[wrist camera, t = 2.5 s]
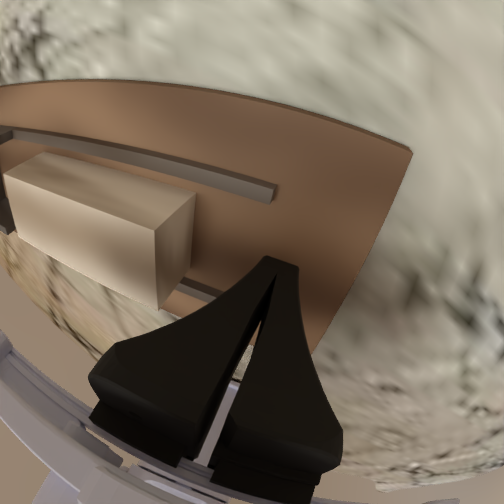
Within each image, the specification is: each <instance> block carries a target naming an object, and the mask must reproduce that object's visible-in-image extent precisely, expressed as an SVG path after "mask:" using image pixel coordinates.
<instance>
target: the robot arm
mask: <svg viewBox="0 0 504 504" xmlns="http://www.w3.org/2000/svg"><path fill="white" fill-rule="evenodd" d="M299 270H300V269H299V267H298V266H296V265H293V264H290V263H287V262H285V261H282V260H279V259H276V258H273V257H270V256H267V255H266V256H263V257H262V259H261V260H260V261H259V262H258V263H257V264H256V266H255V267H254V268H253V269H252V270H250V271H249V272H248V273H247V274H246V275H245V276H244V277H243V278H242V279H240V280H239V281H238V282H237V283H236V284H235V285H233V286H232V287H231V288H229V289H228V290H227V291H225V292H224V293H223V294H221V295H220V296H219V297H217V298H216V299H214V300H213V301H211V302H210V303H208V304H207V305H205V306H203V307H202V308H200V309H198V310H197V311H195V312H193V313H191V314H189V315H187V316H185V317H183V318H182V319H179V320H177V321H175V322H173V323H171V324H169V325H166V326H164V327H161V328H159V329H156V330H154V331H151V332H149V333H146V334H143V335H140V336H137V337H133V338H130V339H127V340H123V341H120V342H116V343H115V344H114V345H113V346H112V347H111V348H110V349H109V350H108V351H107V352H106V353H105V354H104V355H103V356H102V357H101V358H100V360H99V361H98V362H97V364H96V365H95V366H94V368H93V369H92V371H91V372H90V373H89V375H88V380H89V383H90V385H91V387H92V388H93V390H94V392H95V393H96V395H97V396H98V398H99V399H100V400H99V402H98V404H97V405H96V406H95V408H94V409H92V408H90V407H89V406H87V405H86V404H84V403H83V402H82V401H80V400H79V399H77V398H76V397H74V396H73V395H72V394H70V393H69V392H67V391H66V390H65V389H63V388H62V387H61V386H59V385H58V384H57V383H55V382H54V381H53V380H51V379H50V378H49V377H48V376H46V375H45V374H44V373H43V372H41V371H40V370H39V369H38V368H37V367H35V366H34V365H33V364H32V363H31V362H29V361H28V360H27V359H26V358H25V357H24V356H23V355H22V354H20V353H19V352H18V351H17V350H16V349H15V348H14V347H13V345H12V343H11V342H10V341H9V339H8V338H7V336H6V335H5V334H4V333H3V332H2V330H1V329H0V418H1V420H2V421H3V422H4V423H5V424H6V425H7V426H8V428H9V429H10V430H11V431H12V432H13V433H14V434H15V435H16V436H17V437H18V438H19V439H20V441H21V442H22V443H24V445H25V446H26V447H27V448H28V449H30V451H32V452H33V453H34V454H35V455H36V456H37V457H38V458H39V459H40V460H41V461H42V462H43V463H44V464H45V465H46V466H48V467H49V468H50V469H51V471H50V473H49V474H48V476H47V478H46V479H45V481H44V483H43V484H42V486H41V488H40V489H39V491H38V493H37V495H36V497H35V498H34V500H33V502H32V503H31V504H225V503H226V504H229V503H230V500H231V498H232V497H233V498H236V499H239V500H242V501H246V502H249V503H253V504H367V503H355V502H346V501H337V500H330V499H324V498H318V497H312V496H313V492H314V489H315V485H318V484H319V482H320V479H321V475H322V474H323V473H325V472H328V471H330V470H333V469H334V468H336V467H337V466H339V465H340V462H341V458H342V452H343V429H342V427H341V426H340V424H339V422H338V420H337V418H336V416H335V414H334V412H333V410H332V408H331V406H330V404H329V402H328V400H327V397H326V395H325V393H324V391H323V388H322V386H321V383H320V380H319V378H318V375H317V372H316V370H315V367H314V364H313V361H312V358H311V354H310V351H309V347H308V343H307V339H306V335H305V330H304V325H303V320H302V314H301V306H300V297H299ZM260 322H261V323H260ZM259 323H260V327H259V330H258V334H257V337H256V341H255V345H254V348H253V352H252V355H251V359H250V362H249V364H248V366H247V369H246V371H245V374H244V376H243V379H242V381H241V383H238V382H235V381H232V380H231V379H232V376H233V374H234V372H235V370H236V368H237V366H238V363H239V362H240V360H241V358H242V356H243V354H244V352H245V350H246V348H247V347H248V345H249V343H250V341H251V339H252V337H253V335H254V333H255V331H256V329H257V327H258V325H259ZM85 427H87V428H88V429H90V430H91V431H93V432H94V433H96V434H97V435H99V436H101V437H102V438H104V439H106V440H107V441H109V442H110V443H112V444H114V445H116V446H117V447H119V448H121V449H122V450H124V451H126V452H128V453H130V454H131V455H133V456H135V457H137V458H139V459H140V461H139V462H138V464H137V465H138V466H139V467H138V466H136V465H134V464H132V465H131V467H130V468H128V467H126V466H122V467H120V466H121V464H122V462H123V458H121V457H120V456H119V455H117V454H116V453H114V452H113V451H112V450H111V449H110V448H109V446H107V445H106V444H104V443H103V442H101V441H100V440H99V439H97V438H96V437H94V436H93V435H91V434H90V433H89V432H87V431H86V428H85ZM424 504H459V499H458V498H457V499H445V500H436V501H430V502H426V503H424Z"/></svg>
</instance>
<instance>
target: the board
mask: <svg viewBox="0 0 504 504" xmlns="http://www.w3.org/2000/svg"><path fill="white" fill-rule="evenodd" d="M43 152H47V153H52V154H56V155H60V156H64V157H68V158H72V159H76V160H80V161H84V162H88V163H92V164H96V165H100V166H104V167H107V168H111V169H115V170H119V171H122V172H126V173H130V174H133V175H137V176H141V177H144V178H148V179H151V180H155V181H158V182H162V183H165V184H169V185H172V186H176V187H179V188H182V189H186V190H189V191H193V192H196V200H195V211H194V222H193V234H192V248H191V262H190V269H189V270H188V272H187V273H186V274H185V276H184V277H183V278H182V280H181V281H180V282H179V284H178V285H177V286H176V288H175V289H174V290H173V292H172V293H171V294H170V296H169V297H168V299H167V300H166V301H165V303H164V304H163V305H162V307H161V309H163V310H166V311H168V312H170V313H172V314H175V315H177V316H179V317H182V318H183V317H185V316H187V315H189V314H191V313H193V312H195V311H197V310H198V309H200V308H202V307H203V306H205V305H207V304H208V303H210V302H211V301H213V300H214V299H216V298H217V297H219V296H220V295H221V294H223V293H224V292H225V291H227V290H228V289H229V288H231V287H232V286H233V285H235V284H236V283H237V282H238V281H239V280H240V279H242V278H243V277H244V276H245V275H246V274H247V273H248V272H249V271H250V270H252V269H253V268H254V267H255V266H256V264H257V263H258V262H259V261H260V260H261V259H262V257H263V256H266V255H267V256H270V257H273V258H276V259H279V260H282V261H285V262H287V263H290V264H293V265H296V266H298V267H299V269H300V270H299V297H300V306H301V314H302V320H303V325H304V330H305V335H306V339H307V343H308V347H309V351H310V354H312V352H313V351H314V349H315V348H316V346H317V344H318V343H319V341H320V340H321V338H322V336H323V335H324V333H325V331H326V330H327V328H328V326H329V325H330V323H331V321H332V320H333V318H334V316H335V314H336V313H337V311H338V309H339V307H340V306H341V304H342V302H343V300H344V299H345V297H346V295H347V293H348V291H349V290H350V288H351V286H352V284H353V282H354V280H355V279H356V277H357V275H358V273H359V271H360V269H361V267H362V265H363V263H364V261H365V259H366V258H367V256H368V254H369V252H370V250H371V248H372V246H373V244H374V241H375V239H376V237H377V235H378V233H379V231H380V229H381V227H382V225H383V223H384V221H385V218H386V216H387V214H388V212H389V210H390V207H391V205H392V203H393V201H394V198H395V196H396V194H397V191H398V189H399V187H400V184H401V182H402V180H403V177H404V175H405V172H406V170H407V167H408V165H409V162H410V160H411V157H412V155H413V153H412V151H411V150H410V149H409V147H406V146H404V145H402V144H399V143H397V142H395V141H392V140H390V139H387V138H385V137H382V136H380V135H377V134H375V133H372V132H370V131H367V130H364V129H361V128H359V127H356V126H353V125H350V124H347V123H344V122H341V121H338V120H335V119H332V118H329V117H326V116H323V115H320V114H316V113H313V112H310V111H306V110H303V109H299V108H295V107H292V106H288V105H284V104H280V103H276V102H272V101H268V100H264V99H259V98H255V97H250V96H245V95H240V94H235V93H230V92H224V91H219V90H213V89H207V88H200V87H193V86H186V85H178V84H169V83H159V82H147V81H132V80H107V79H76V80H53V81H39V82H28V83H19V84H11V85H4V86H0V231H2V232H3V233H5V234H6V235H9V234H10V233H11V232H13V231H15V232H17V229H16V226H15V222H14V219H13V215H12V211H11V207H10V203H9V199H8V195H7V190H6V185H5V180H4V175H3V173H5V172H7V171H9V170H10V169H12V168H14V167H16V166H18V165H19V164H21V163H23V162H25V161H27V160H29V159H31V158H33V157H35V156H37V155H38V154H40V153H43ZM260 323H261V322H260ZM260 323H259V325H258V327H257V329H256V331H255V333H254V335H253V337H252V339H251V341H250V343H249V344H250V345H253V346H254V345H255V341H256V337H257V334H258V330H259V327H260Z"/></svg>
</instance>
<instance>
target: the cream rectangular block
mask: <svg viewBox="0 0 504 504" xmlns="http://www.w3.org/2000/svg"><path fill="white" fill-rule="evenodd" d="M3 175H4V180H5V185H6V190H7V195H8V199H9V203H10V207H11V211H12V215H13V219H14V222H15V226H16V229H17V233H18V236H19V238H21V239H23V240H24V241H26V242H27V243H29V244H31V245H32V246H34V247H36V248H37V249H39V250H41V251H42V252H44V253H46V254H47V255H49V256H51V257H53V258H54V259H56V260H58V261H60V262H61V263H63V264H65V265H67V266H68V267H70V268H72V269H74V270H76V271H78V272H79V273H81V274H83V275H85V276H87V277H89V278H91V279H93V280H94V281H96V282H98V283H100V284H102V285H104V286H106V287H108V288H110V289H112V290H114V291H116V292H118V293H120V294H122V295H124V296H126V297H128V298H130V299H132V300H134V301H137V302H139V303H141V304H143V305H145V306H147V307H149V308H152V309H154V310H156V311H159V309H160V308H161V307H162V305H163V304H164V303H165V301H166V300H167V299H168V297H169V296H170V294H171V293H172V292H173V290H174V289H175V288H176V286H177V285H178V284H179V282H180V281H181V280H182V278H183V277H184V276H185V274H186V273H187V272H188V270H189V269H190V262H191V248H192V234H193V222H194V211H195V200H196V192H193V191H189V190H186V189H182V188H179V187H176V186H172V185H169V184H165V183H162V182H158V181H155V180H151V179H148V178H144V177H141V176H137V175H133V174H130V173H126V172H122V171H119V170H115V169H111V168H107V167H104V166H100V165H96V164H92V163H88V162H84V161H80V160H76V159H72V158H68V157H64V156H60V155H56V154H52V153H47V152H43V153H40V154H38V155H37V156H35V157H33V158H31V159H29V160H27V161H25V162H23V163H21V164H19V165H18V166H16V167H14V168H12V169H10V170H9V171H7V172H5V173H3Z"/></svg>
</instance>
